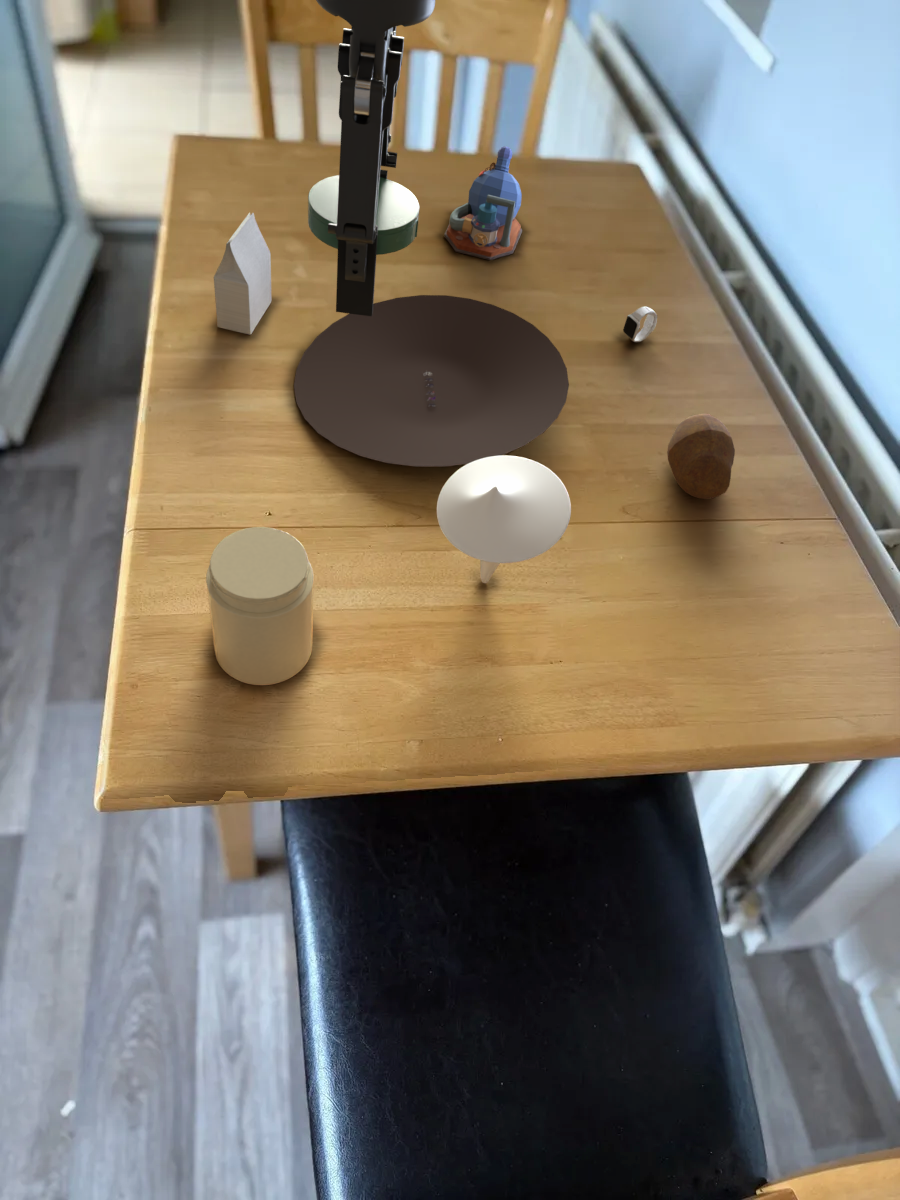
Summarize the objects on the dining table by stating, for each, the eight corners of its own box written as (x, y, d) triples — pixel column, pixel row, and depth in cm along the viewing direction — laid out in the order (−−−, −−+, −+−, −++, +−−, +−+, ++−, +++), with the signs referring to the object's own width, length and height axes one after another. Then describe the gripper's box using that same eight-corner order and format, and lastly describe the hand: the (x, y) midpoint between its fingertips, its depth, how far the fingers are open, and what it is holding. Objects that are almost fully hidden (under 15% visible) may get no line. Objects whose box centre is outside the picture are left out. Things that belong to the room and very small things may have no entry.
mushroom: (473, 648, 74) (498, 550, 65) (401, 561, 79) (415, 458, 70) (568, 600, 79) (604, 502, 70) (495, 521, 84) (520, 420, 75)
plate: (294, 306, 101) (294, 276, 98) (538, 320, 106) (544, 292, 103) (292, 481, 84) (292, 451, 81) (583, 488, 88) (593, 460, 85)
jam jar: (199, 672, 69) (187, 588, 62) (233, 599, 74) (226, 512, 66) (296, 695, 69) (295, 614, 61) (323, 620, 74) (326, 536, 66)
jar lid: (429, 212, 70) (431, 188, 68) (403, 266, 65) (405, 241, 63) (326, 188, 70) (327, 164, 69) (293, 239, 65) (292, 214, 63)
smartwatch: (643, 330, 107) (652, 300, 104) (654, 340, 106) (664, 311, 103) (619, 337, 106) (628, 307, 102) (630, 347, 105) (640, 318, 101)
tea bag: (271, 301, 101) (269, 216, 93) (250, 334, 97) (246, 248, 89) (239, 293, 101) (235, 208, 94) (217, 326, 97) (210, 239, 89)
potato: (667, 508, 88) (688, 460, 83) (651, 441, 94) (670, 393, 89) (732, 513, 89) (757, 466, 84) (712, 447, 95) (734, 399, 90)
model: (459, 203, 120) (469, 132, 113) (526, 220, 120) (541, 150, 113) (437, 247, 113) (447, 174, 106) (509, 265, 112) (523, 192, 105)
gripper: (433, 4, 47) (398, 366, 64) (447, -108, 60) (415, 218, 78) (287, -18, 46) (292, 353, 64) (333, -126, 60) (327, 206, 77)
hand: (360, 279), depth 71 cm, fingers closed on jar lid, 8 cm apart
